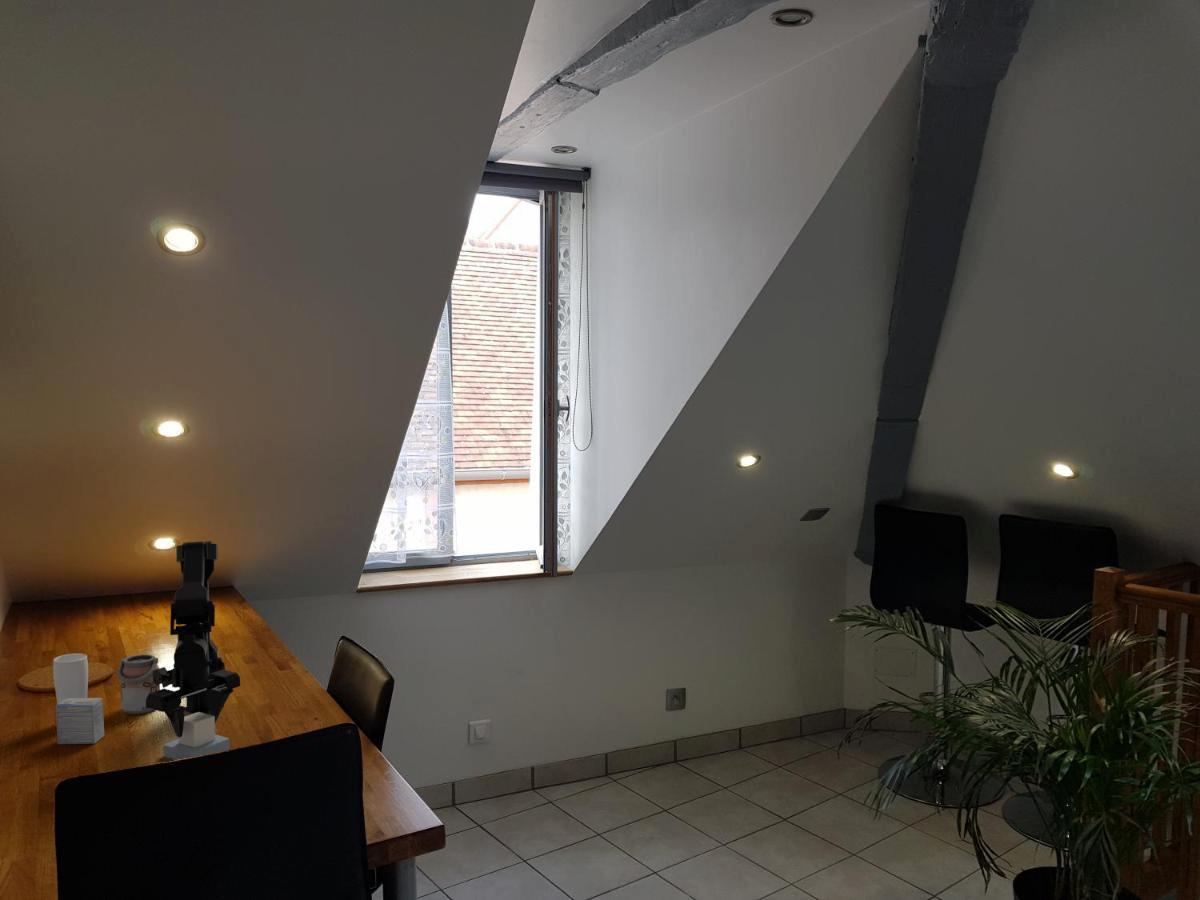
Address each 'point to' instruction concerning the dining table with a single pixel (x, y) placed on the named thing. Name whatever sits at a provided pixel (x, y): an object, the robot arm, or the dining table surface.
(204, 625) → the robot arm
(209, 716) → the cream cube
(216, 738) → the slate block
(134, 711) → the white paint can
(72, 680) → the drinking glass
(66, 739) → the medicine box
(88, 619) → the dining table surface
